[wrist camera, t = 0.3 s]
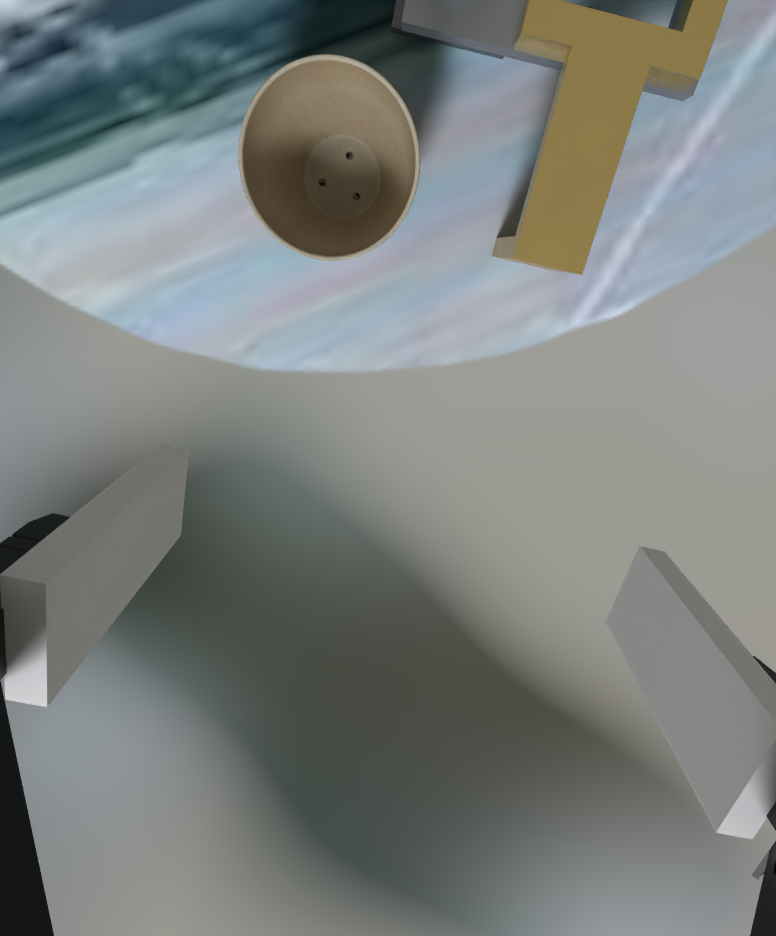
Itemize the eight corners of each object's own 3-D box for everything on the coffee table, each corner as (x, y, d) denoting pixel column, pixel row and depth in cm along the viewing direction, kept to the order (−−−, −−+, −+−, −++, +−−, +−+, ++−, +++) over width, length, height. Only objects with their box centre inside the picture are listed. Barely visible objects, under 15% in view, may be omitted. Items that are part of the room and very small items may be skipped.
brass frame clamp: (424, -151, 31) (460, -916, 11) (706, -76, 32) (1240, -648, 12) (357, 224, 38) (301, 199, 18) (589, 279, 39) (790, 313, 19)
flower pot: (430, 104, 36) (435, 71, 29) (403, 269, 39) (403, 273, 33) (273, 76, 35) (243, 37, 29) (262, 245, 39) (232, 245, 32)
